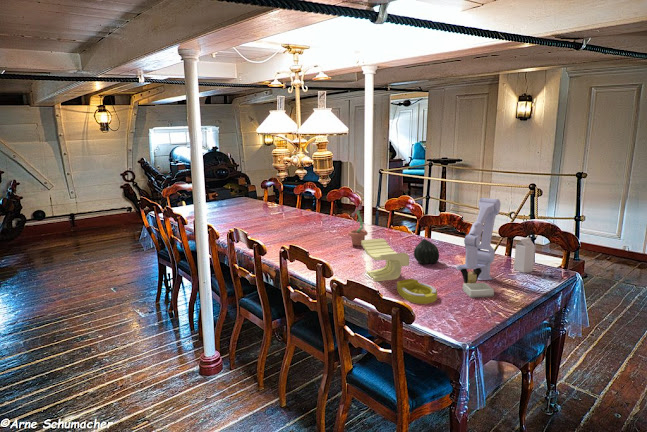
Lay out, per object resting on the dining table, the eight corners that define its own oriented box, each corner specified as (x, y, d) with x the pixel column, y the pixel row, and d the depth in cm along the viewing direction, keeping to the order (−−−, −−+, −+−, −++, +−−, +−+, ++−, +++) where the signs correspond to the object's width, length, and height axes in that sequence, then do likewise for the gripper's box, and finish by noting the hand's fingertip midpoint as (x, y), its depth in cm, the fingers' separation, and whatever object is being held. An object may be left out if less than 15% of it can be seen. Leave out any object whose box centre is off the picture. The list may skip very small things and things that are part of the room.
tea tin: (463, 284, 219) (464, 271, 217) (472, 283, 219) (472, 271, 217) (467, 287, 214) (468, 274, 213) (475, 287, 215) (476, 274, 213)
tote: (462, 290, 212) (463, 283, 211) (484, 289, 212) (485, 282, 212) (470, 297, 202) (471, 291, 201) (493, 296, 203) (494, 289, 202)
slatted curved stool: (408, 283, 222) (409, 251, 218) (381, 287, 218) (381, 254, 214) (386, 266, 250) (386, 237, 247) (361, 269, 246) (361, 240, 243)
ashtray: (415, 285, 220) (416, 277, 218) (444, 299, 202) (444, 289, 201) (390, 292, 212) (391, 283, 211) (418, 307, 194) (418, 297, 193)
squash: (440, 259, 244) (438, 236, 251) (414, 259, 247) (413, 236, 254) (438, 268, 256) (437, 246, 263) (414, 268, 259) (413, 246, 266)
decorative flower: (353, 240, 308) (352, 201, 301) (370, 242, 302) (370, 202, 295) (345, 246, 295) (344, 204, 288) (363, 248, 289) (363, 205, 282)
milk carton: (513, 269, 240) (516, 237, 236) (523, 267, 242) (525, 236, 238) (523, 273, 233) (526, 240, 229) (533, 271, 236) (535, 239, 232)
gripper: (460, 260, 209) (459, 285, 212) (488, 259, 210) (487, 284, 213) (455, 256, 216) (454, 280, 219) (482, 254, 217) (480, 279, 220)
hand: (470, 282), depth 216 cm, fingers closed on tea tin, 4 cm apart
